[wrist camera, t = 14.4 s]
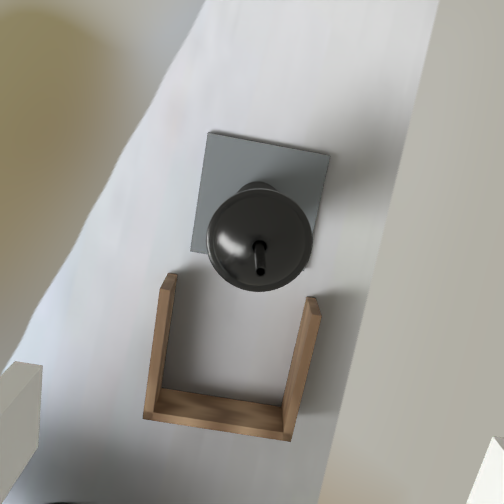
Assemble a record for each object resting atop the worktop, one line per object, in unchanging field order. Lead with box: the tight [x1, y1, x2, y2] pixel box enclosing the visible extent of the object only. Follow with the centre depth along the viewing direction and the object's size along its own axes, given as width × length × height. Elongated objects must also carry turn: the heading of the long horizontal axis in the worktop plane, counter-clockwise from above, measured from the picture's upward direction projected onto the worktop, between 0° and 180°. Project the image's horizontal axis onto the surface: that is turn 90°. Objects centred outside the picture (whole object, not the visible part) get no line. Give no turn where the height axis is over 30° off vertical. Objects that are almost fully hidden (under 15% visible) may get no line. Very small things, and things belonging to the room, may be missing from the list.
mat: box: [190, 133, 330, 271], centre depth 46 cm, size 12×12×1 cm
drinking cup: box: [206, 182, 313, 292], centre depth 36 cm, size 8×8×20 cm
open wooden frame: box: [143, 273, 322, 442], centre depth 49 cm, size 16×15×4 cm
